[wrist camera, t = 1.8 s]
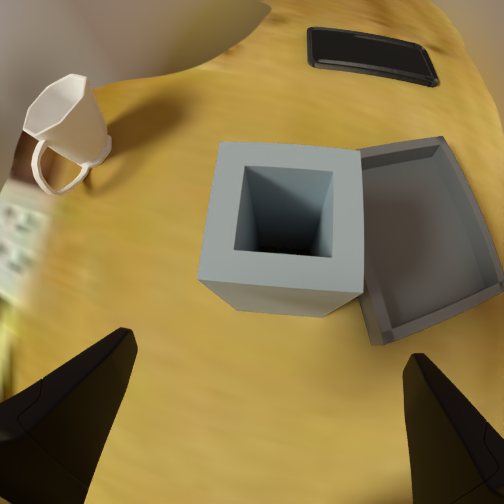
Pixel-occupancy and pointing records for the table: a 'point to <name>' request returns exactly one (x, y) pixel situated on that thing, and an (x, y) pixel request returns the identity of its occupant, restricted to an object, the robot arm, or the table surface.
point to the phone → (369, 55)
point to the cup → (68, 128)
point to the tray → (421, 240)
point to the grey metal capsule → (284, 251)
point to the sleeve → (284, 228)
